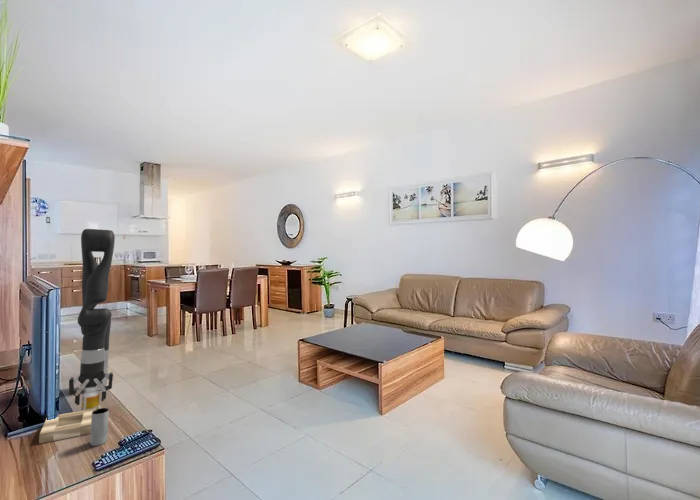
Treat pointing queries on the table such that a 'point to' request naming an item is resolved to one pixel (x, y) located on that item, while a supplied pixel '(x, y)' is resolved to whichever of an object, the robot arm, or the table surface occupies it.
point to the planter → (99, 426)
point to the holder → (66, 426)
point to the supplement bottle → (90, 398)
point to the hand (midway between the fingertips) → (90, 402)
